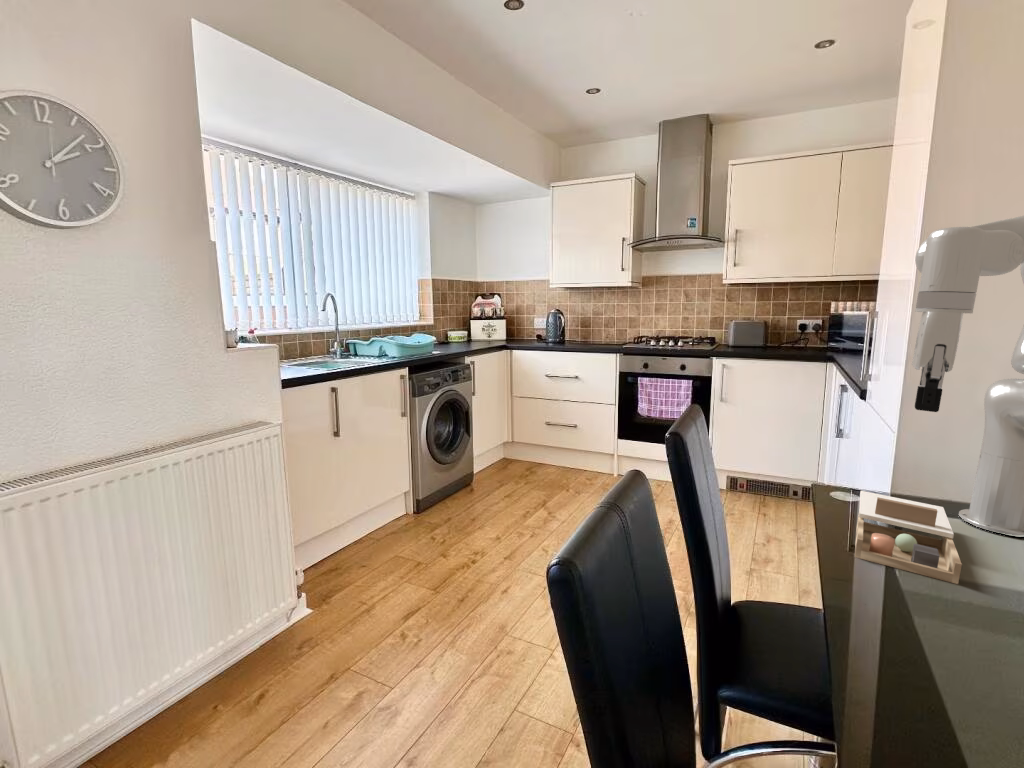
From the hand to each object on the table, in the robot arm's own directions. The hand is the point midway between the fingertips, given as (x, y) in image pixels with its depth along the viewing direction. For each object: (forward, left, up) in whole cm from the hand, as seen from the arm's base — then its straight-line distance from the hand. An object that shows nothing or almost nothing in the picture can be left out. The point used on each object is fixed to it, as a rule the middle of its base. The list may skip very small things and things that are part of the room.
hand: (926, 410), depth 89 cm
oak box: (0, 0, -27) cm, 27 cm away
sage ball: (-1, 0, -26) cm, 27 cm away
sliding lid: (-10, -4, -23) cm, 25 cm away
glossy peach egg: (+4, -2, -26) cm, 27 cm away
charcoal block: (+3, +4, -26) cm, 27 cm away
